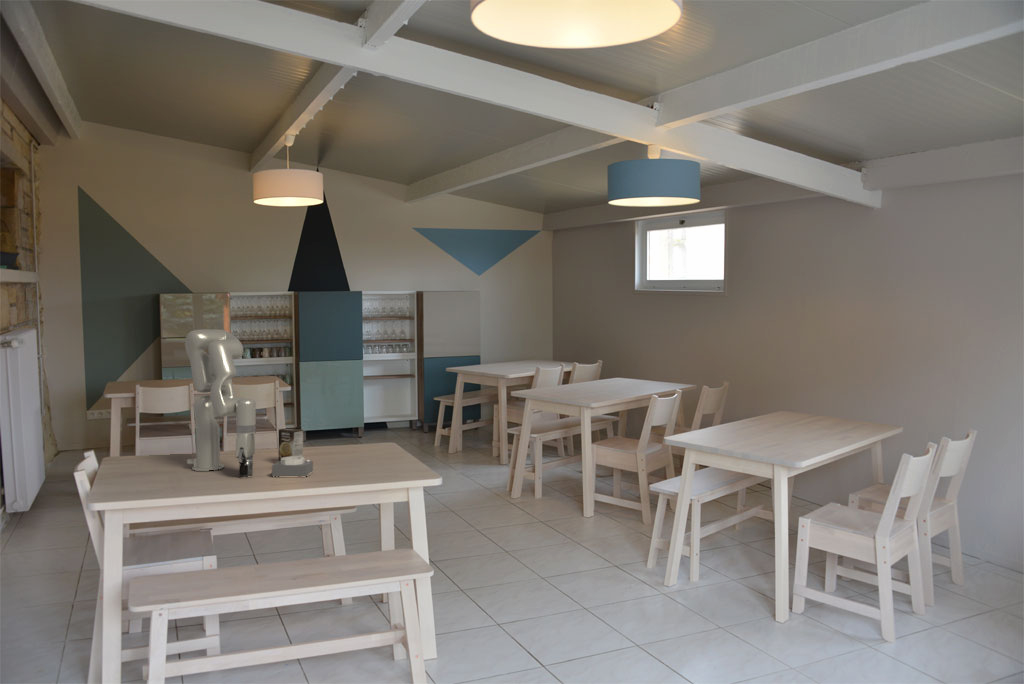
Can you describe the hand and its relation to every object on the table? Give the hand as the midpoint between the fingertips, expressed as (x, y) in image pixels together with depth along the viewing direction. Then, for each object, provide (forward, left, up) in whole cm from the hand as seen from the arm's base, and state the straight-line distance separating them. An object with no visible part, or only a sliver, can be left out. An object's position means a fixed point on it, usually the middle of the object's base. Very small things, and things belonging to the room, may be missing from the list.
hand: (246, 473), depth 311 cm
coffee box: (+11, +25, -2) cm, 27 cm away
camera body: (+18, +4, -1) cm, 19 cm away
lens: (0, 0, -1) cm, 1 cm away
